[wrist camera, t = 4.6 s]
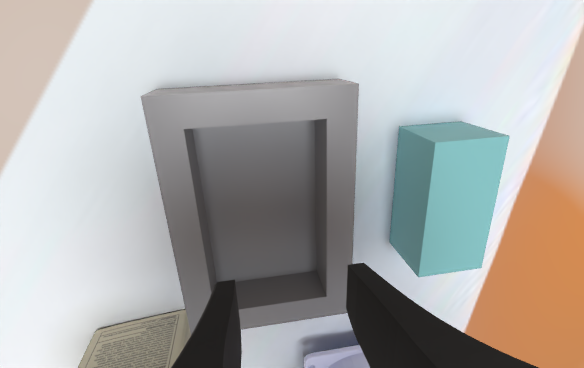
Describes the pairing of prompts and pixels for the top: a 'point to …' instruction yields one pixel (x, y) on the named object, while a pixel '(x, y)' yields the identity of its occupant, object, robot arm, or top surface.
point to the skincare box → (139, 343)
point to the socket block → (259, 193)
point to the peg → (445, 195)
